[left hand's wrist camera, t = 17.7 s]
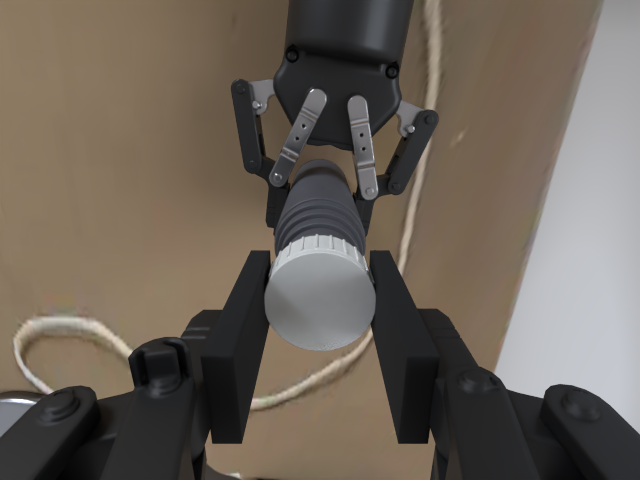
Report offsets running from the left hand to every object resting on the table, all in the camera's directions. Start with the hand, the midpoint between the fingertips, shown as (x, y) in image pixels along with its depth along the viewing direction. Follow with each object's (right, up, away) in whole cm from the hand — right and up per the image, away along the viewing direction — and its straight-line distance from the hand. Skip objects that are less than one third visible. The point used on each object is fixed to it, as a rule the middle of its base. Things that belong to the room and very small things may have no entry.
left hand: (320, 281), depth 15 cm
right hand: (0, +2, +13) cm, 13 cm away
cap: (0, -1, -2) cm, 2 cm away
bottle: (0, +7, +18) cm, 19 cm away
